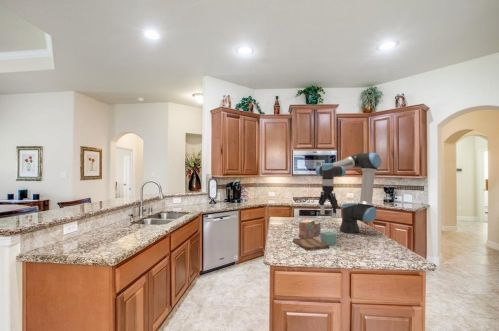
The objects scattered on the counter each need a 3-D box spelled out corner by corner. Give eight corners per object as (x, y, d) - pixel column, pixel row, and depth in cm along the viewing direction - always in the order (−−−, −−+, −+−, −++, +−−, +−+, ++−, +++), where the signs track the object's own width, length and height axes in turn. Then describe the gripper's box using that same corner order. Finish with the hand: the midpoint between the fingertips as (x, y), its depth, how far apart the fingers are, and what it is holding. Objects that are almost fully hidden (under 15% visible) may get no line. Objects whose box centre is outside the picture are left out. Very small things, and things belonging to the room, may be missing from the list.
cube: (330, 241, 181) (330, 231, 182) (336, 244, 175) (336, 234, 175) (321, 242, 179) (321, 232, 179) (327, 245, 173) (327, 234, 173)
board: (312, 240, 185) (312, 237, 185) (329, 248, 166) (329, 245, 166) (292, 241, 180) (292, 239, 180) (307, 250, 161) (307, 247, 161)
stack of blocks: (313, 232, 206) (313, 217, 206) (320, 234, 201) (320, 218, 202) (298, 238, 190) (299, 221, 190) (306, 239, 186) (306, 222, 186)
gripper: (313, 184, 189) (313, 213, 188) (333, 186, 165) (333, 219, 165) (322, 184, 191) (322, 212, 191) (343, 186, 167) (343, 219, 167)
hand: (327, 216), depth 178 cm, fingers open, 13 cm apart
